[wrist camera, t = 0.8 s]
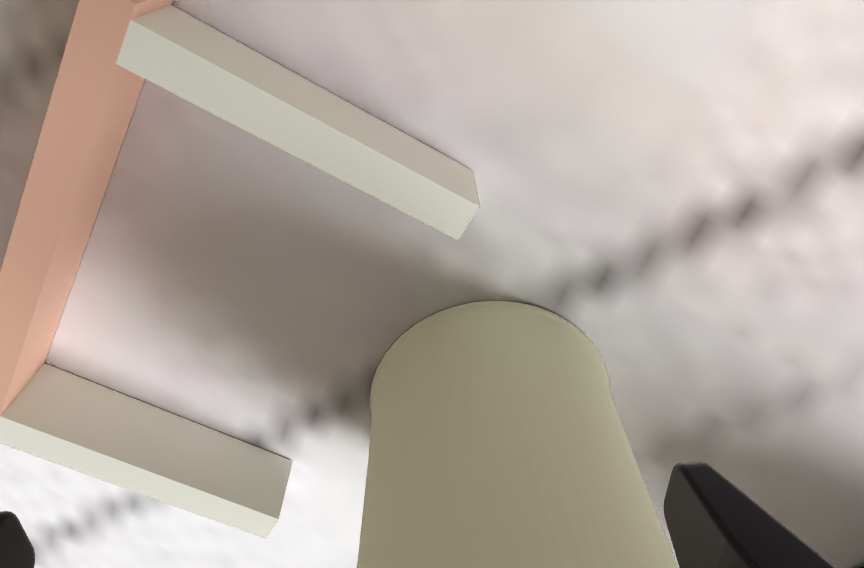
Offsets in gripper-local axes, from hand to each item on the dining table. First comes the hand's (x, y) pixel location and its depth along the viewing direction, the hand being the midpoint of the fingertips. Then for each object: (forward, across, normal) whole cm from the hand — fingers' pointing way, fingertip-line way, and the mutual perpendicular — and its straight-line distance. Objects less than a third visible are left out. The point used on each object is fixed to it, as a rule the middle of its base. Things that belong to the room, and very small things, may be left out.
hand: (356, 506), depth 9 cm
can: (+13, -4, +10) cm, 17 cm away
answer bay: (+14, +5, +5) cm, 16 cm away
